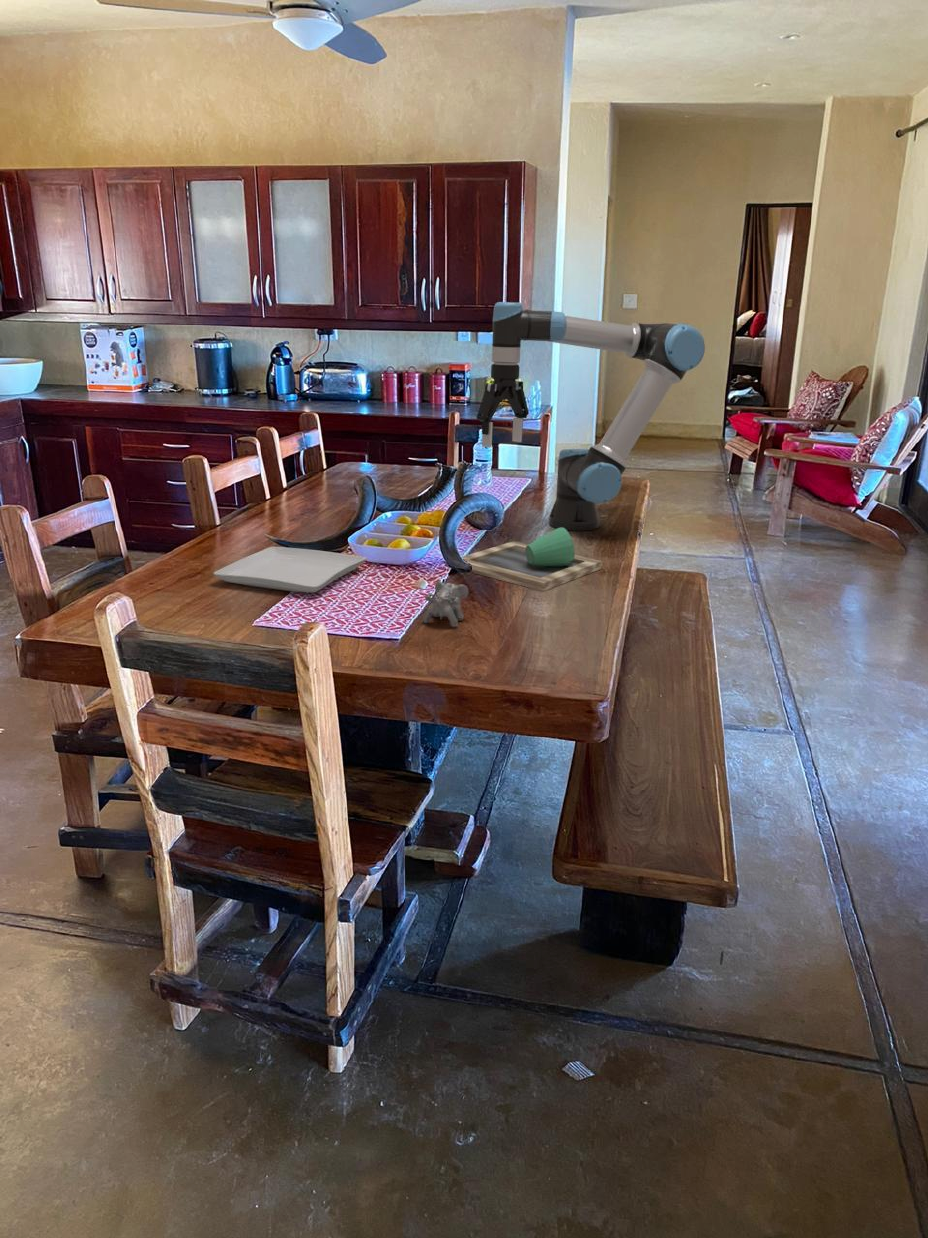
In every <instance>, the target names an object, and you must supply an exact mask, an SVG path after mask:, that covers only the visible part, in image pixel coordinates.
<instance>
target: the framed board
mask: <svg viewBox="0 0 928 1238" xmlns="http://www.w3.org/2000/svg"><path fill="white" fill-rule="evenodd" d="M528 545H529V544H528V543H524V542H523V543H522V542H519V541H515V540H513V541H509V542H506V543H503V544H499V545H496V546H493V547H490V548H486V549H484V550H480V551H476V552H473V553H471V554H466V555H463V556H461V557H462V558H463V559H464V560H465V561H467V562H468V563H470V564H471V565H472V572H473V573H472V572H471V573H472V574H476V575H479V576H484V577H487V578H492V579H495V580H499V581H503V582H507V583H510V584H513V585H514V584H515V585H518V586H521V587H526V588H529V589H534V590H537V591H541V592H545V591H548V590H550V589H553V588H555V587H558V586H561V585H564V584H565V583H568V582H571V581H573V580H576V579H579V578H582V577H584V576H587V575H589V574H592V573H594V572H597V571H599V570H602V567H603V561H602V560H597V559H595V558H594V559H593V558H590V557H585V556H581V555H578V554H575V557H574V560H572V561H570V562H573V563H572V565H570V566H561V567H547V566H537V565H531V564H530V563H529V562H528V560H527V557H526V546H528ZM476 561H477V562H476Z"/></svg>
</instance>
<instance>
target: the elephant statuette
mask: <svg viewBox="0 0 928 1238" xmlns="http://www.w3.org/2000/svg"><path fill="white" fill-rule="evenodd" d="M434 590H435V593H436V594H433V593H430V592H428V593H427V594H426V595H425V596H424V597H425V601H427V602H431V603H430V605H429V606H428V607H427V609H426V610H425V612H424V613H423V615H422V621H423V622H424V624H429V622H430V620H431V618H432V617H434V618H439V617H440V618H439V619H440V620H442V619H443V617H446V618H447V620H448V621H449V623H450V626H451V628H457V626H458V625H459V623H458V622H460V621H463V620H464V618H465V615H464V614H463V613H462V605H461V604H462V603H461V599H462V598H467V597H468V596H469V588H468V586H466V585H465V584H455V583H451V582H446V583H444V582H442V581H439V580H437V581H436V582H435V586H434ZM432 597H433V598H432Z"/></svg>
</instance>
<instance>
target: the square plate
mask: <svg viewBox="0 0 928 1238" xmlns="http://www.w3.org/2000/svg"><path fill="white" fill-rule="evenodd" d="M366 560H367V556H361V555H354V554H353V555H352V554H346V553H341V552H333V551H327V550H326V551H324V550H317V549H307V548H299V547H298V548H295V547H286V546H285V547H283V546H270V547H267V548H264V549H262V550H260V551H258V552H255V553H253V554H251V555H248V556H245V557H243V558H241V559H238V560H236V561H234V562H232V563H230V564H228V565H225V566H223V567H222V568H220V569H218V570H216V571H214V572H213V575H214V576H216V577H217V578H218V579H220V580H222V581H224V582H227V583H231V584H239V585H244V586H249V587H257V588H265V589H272V590H278V591H279V590H280V591H284V592H285V591H287V592H294V593H310V594H311V593H312V594H313V593H316V592H318V591H320V590H322V589H324V588H325V587H326V586H328V585H330V584H331V583H333V582H334V580H335V581H336V580H338V579H339V577H340V578H341V577H343V576H345V575H347V574H349V573H351V572H352V571H354V570H356V569H357V568H358V567H360V566H361V565H362V564H363V563H364V562H365V561H366ZM329 583H330V584H329Z"/></svg>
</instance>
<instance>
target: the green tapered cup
mask: <svg viewBox="0 0 928 1238" xmlns="http://www.w3.org/2000/svg"><path fill="white" fill-rule="evenodd" d="M575 555H576V554H575V546H574V542H573V539H572V536H571V535H570V533H569V530H566V529H565V528H562V527H561V528H555V529H554V530H551V531H549V532H547V533H545V534H543V535H541V536H540V537H538V538H537V539H535V540H533V541H532V542H531V543H530V544H528V546H526V557H527V560H528V562H529V563H530V564H531V565H537V566H547V567H561V566H570V565H572V563H573V562H570V561H572V560H574V557H575Z"/></svg>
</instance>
